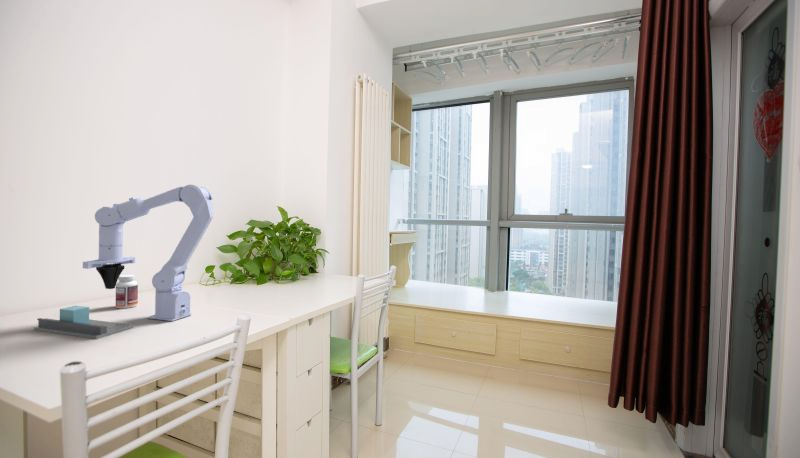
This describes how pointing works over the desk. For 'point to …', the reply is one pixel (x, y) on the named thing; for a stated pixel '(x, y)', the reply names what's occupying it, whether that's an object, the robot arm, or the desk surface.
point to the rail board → (94, 322)
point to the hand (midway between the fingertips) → (110, 288)
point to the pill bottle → (126, 292)
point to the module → (75, 314)
